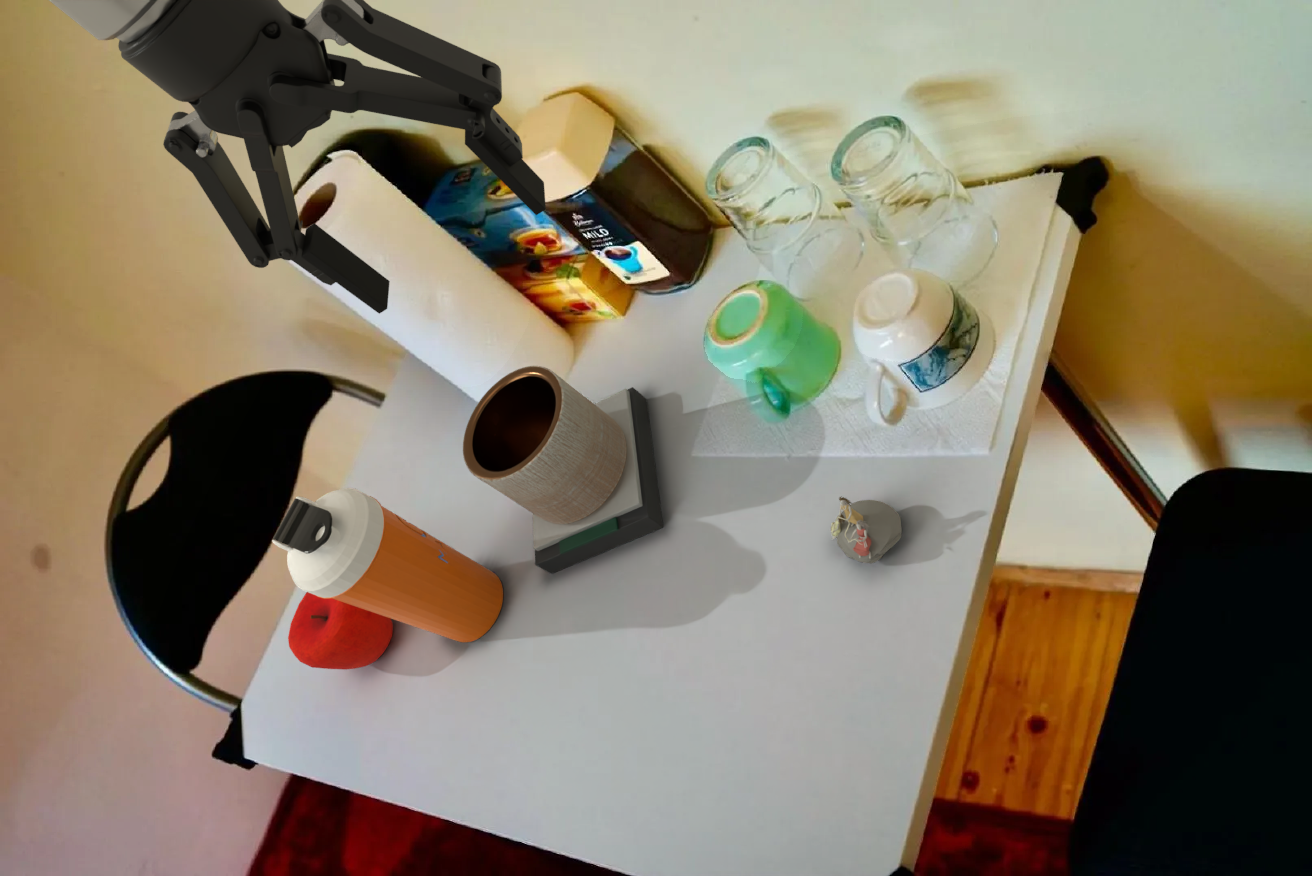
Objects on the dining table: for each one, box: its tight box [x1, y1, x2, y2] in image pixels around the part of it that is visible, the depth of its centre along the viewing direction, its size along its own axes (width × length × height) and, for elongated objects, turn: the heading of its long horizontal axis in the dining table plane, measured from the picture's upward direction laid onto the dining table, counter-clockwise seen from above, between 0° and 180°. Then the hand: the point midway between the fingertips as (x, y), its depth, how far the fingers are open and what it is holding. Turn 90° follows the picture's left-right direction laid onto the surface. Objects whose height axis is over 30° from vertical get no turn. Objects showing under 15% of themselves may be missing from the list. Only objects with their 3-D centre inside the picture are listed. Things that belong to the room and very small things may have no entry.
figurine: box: [830, 495, 903, 564], centre depth 62 cm, size 5×4×6 cm
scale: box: [532, 386, 664, 575], centre depth 81 cm, size 14×12×3 cm
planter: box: [462, 365, 627, 524], centre depth 77 cm, size 11×11×10 cm
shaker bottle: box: [271, 487, 504, 643], centre depth 77 cm, size 9×9×20 cm
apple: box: [287, 591, 394, 671], centre depth 87 cm, size 9×9×8 cm
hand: (459, 250), depth 59 cm, fingers open, 13 cm apart
